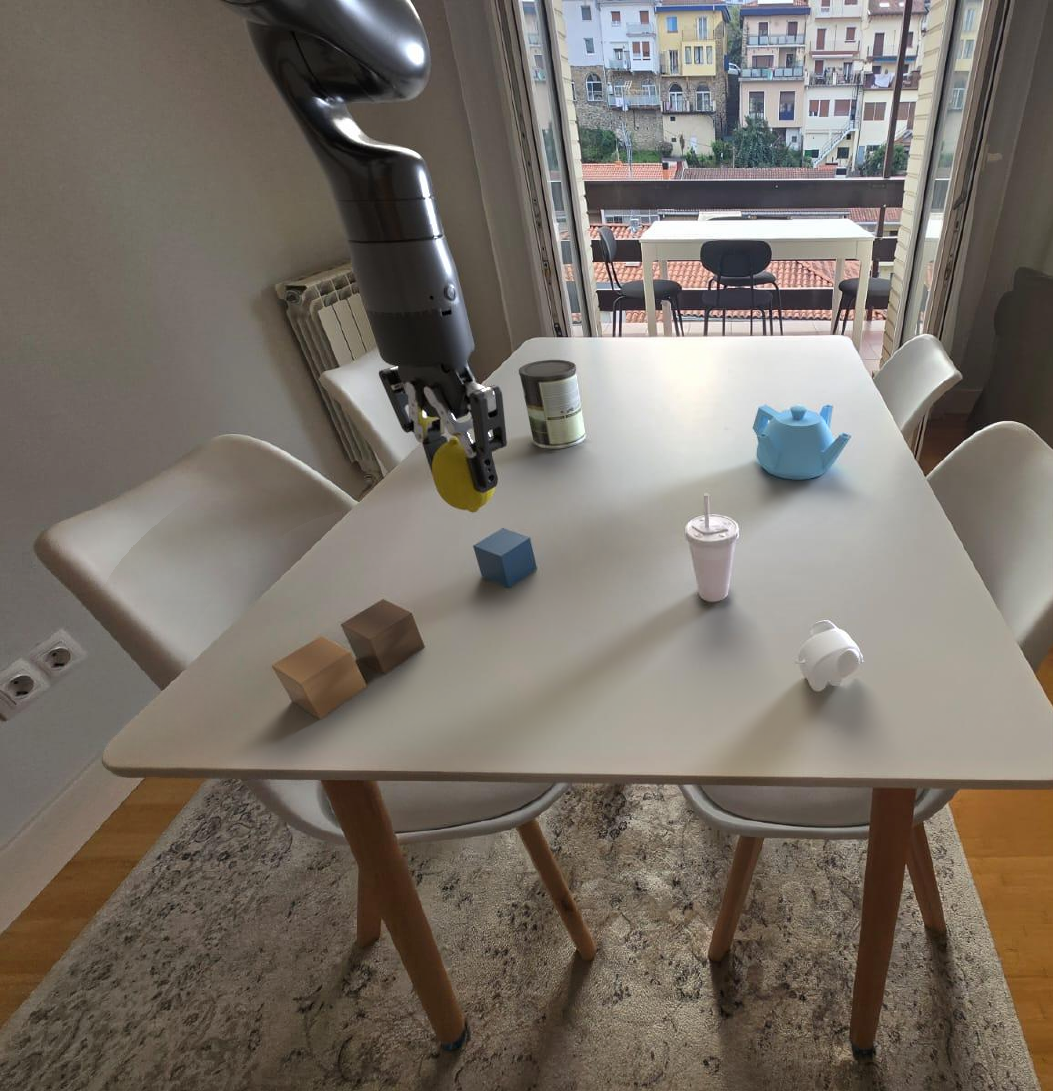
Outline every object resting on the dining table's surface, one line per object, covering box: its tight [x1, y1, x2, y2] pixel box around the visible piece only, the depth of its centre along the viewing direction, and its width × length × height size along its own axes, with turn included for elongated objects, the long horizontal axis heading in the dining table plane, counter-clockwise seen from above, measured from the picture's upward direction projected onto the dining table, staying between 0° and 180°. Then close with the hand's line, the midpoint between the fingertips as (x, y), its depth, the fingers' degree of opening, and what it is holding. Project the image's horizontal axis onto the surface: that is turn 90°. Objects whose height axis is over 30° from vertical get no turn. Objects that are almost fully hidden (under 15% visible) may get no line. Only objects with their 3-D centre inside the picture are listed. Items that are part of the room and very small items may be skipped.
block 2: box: [340, 598, 426, 675], centre depth 65 cm, size 5×5×5 cm
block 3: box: [472, 527, 538, 589], centre depth 78 cm, size 5×5×5 cm
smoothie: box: [684, 493, 740, 603], centre depth 72 cm, size 6×6×14 cm
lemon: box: [431, 436, 496, 513], centre depth 58 cm, size 6×6×8 cm
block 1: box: [270, 635, 368, 720], centre depth 60 cm, size 5×5×5 cm
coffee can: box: [518, 359, 587, 450], centre depth 114 cm, size 10×10×14 cm
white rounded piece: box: [793, 619, 865, 692], centre depth 61 cm, size 7×8×6 cm
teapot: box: [752, 404, 852, 481], centre depth 104 cm, size 15×15×11 cm
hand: (465, 480), depth 58 cm, fingers closed on lemon, 5 cm apart
